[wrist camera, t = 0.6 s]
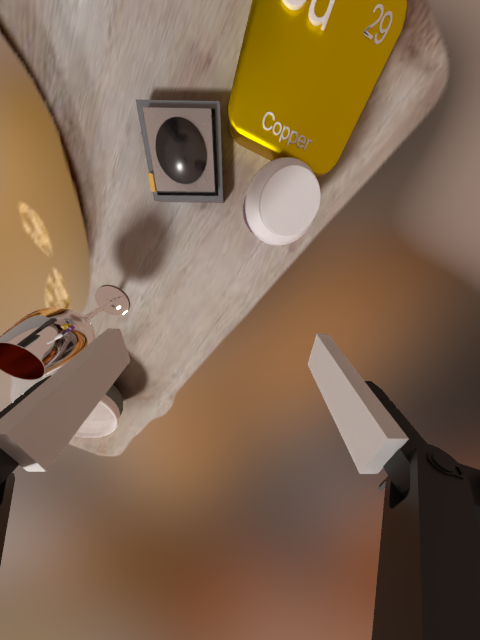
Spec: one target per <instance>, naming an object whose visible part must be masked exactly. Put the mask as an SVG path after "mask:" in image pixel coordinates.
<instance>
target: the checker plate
mask: <svg viewBox="0 0 480 640" xmlns="http://www.w3.org/2000/svg"><path fill="white" fill-rule="evenodd" d="M142 108H143V113H144V119H145V125H146V131H147V136H148V142H149V148H150V154H151V159H152V165H153V171H154V177H155V182H156V188H157V191H158V192H161V193H204V194H216V172H215V149H214V126H213V115H212V111H211V109H209V108H154V107H142Z"/></svg>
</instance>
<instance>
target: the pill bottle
mask: <svg viewBox="0 0 480 640" xmlns="http://www.w3.org/2000/svg"><path fill="white" fill-rule="evenodd" d="M320 198H321V193H320V187H319V183H318V181H317V178H316V176H315V174H314V173H313V171H312V170H311V168H310V167H309V166H308V165H307V164H305V163H304V162H302V161H300V160H298V159H295V158H279V159H276V160H273V161H271V162H269V163H268V164H266V165H265V166H264V167H262V168H261V169H260V170H259V171H258V172H257V174H256V175H255V176H254V178H253V179H252V181H251V183H250V185H249V188H248V191H247V194H246V197H245V200H244V204H243V215H244V220H245V223H246V225H247V227H248V228H249V230H250V231H251V232H252V233H253V234H254V235H255V236H256V237H258V238H259V239H260V240H262V241H263V242H265V243H268V244H271V245H285V244H289V243H292V242H294V241H296V240H297V239H299V238H300V237H301V236H303V235H304V234H305V233H306V232H307V230H308V229H309V228H310V226H311V225H312V223H313V222H314V220H315V217H316V215H317V212H318V209H319V205H320Z"/></svg>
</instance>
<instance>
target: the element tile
mask: <svg viewBox="0 0 480 640" xmlns="http://www.w3.org/2000/svg"><path fill="white" fill-rule="evenodd" d="M406 13H407V0H252V5H251V9H250V13H249V17H248V22H247V26H246V30H245V34H244V39H243V43H242V47H241V51H240V56H239V60H238V64H237V69H236V73H235V77H234V81H233V86H232V90H231V94H230V98H229V104H228V117H229V127H230V133H231V135H232V138H233V139H234V140H235V141H236V142H237V143H238V144H239V145H241V146H243V147H245V148H247V149H249V150H251V151H253V152H255V153H257V154H259V155H261V156H263V157H265V158H267V159H268V160H270V161H273V160H276V159H279V158H295V159H298V160H300V161H302V162H304V163H305V164H307V165H308V166H309V167H310V168H311V170H312V171H313V173H314V174H315V176H316V178H318V177H320V176H322V175H324V174H325V173H327V172H329V171H330V170H331V169H332V168H333V167H334V166H335V165H336V163H337V162H338V160H339V158H340V156H341V154H342V152H343V150H344V148H345V146H346V144H347V142H348V139H349V137H350V135H351V133H352V131H353V129H354V127H355V125H356V123H357V121H358V119H359V117H360V115H361V113H362V111H363V109H364V107H365V105H366V103H367V101H368V98H369V96H370V94H371V92H372V90H373V88H374V86H375V84H376V82H377V80H378V78H379V76H380V74H381V72H382V70H383V68H384V66H385V64H386V62H387V60H388V58H389V55H390V53H391V51H392V49H393V47H394V45H395V43H396V41H397V39H398V37H399V35H400V33H401V31H402V28H403V25H404V22H405V17H406Z"/></svg>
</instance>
